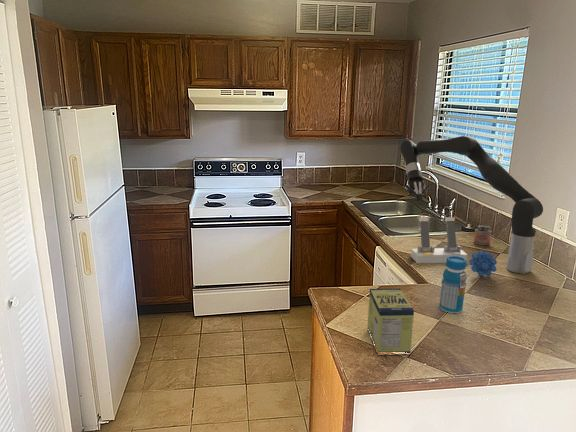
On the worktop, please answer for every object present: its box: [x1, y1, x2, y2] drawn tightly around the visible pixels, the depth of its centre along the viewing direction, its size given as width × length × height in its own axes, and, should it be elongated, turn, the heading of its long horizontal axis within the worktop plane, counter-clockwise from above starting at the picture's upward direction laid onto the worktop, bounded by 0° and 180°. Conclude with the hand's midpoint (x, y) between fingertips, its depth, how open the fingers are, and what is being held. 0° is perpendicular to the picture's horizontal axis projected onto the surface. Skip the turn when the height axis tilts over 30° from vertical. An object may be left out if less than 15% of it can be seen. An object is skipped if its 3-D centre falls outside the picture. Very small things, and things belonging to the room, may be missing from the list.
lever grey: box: [444, 216, 458, 251], centre depth 208 cm, size 4×2×16 cm, turn 93°
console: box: [410, 244, 468, 264], centre depth 207 cm, size 24×9×7 cm, turn 93°
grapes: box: [468, 249, 498, 277], centre depth 187 cm, size 12×7×12 cm, turn 81°
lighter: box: [472, 225, 493, 246], centre depth 228 cm, size 8×3×10 cm, turn 62°
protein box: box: [367, 288, 415, 354], centre depth 137 cm, size 10×16×16 cm
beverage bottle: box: [438, 256, 468, 314], centre depth 158 cm, size 8×8×20 cm
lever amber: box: [418, 216, 431, 252], centre depth 207 cm, size 4×2×16 cm, turn 93°
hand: (419, 201), depth 217 cm, fingers closed
